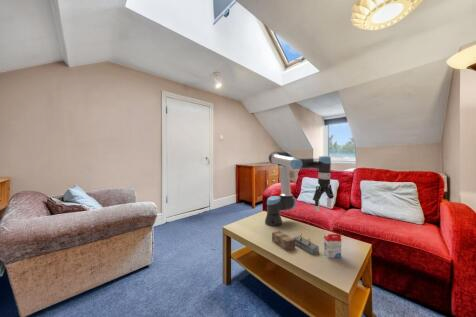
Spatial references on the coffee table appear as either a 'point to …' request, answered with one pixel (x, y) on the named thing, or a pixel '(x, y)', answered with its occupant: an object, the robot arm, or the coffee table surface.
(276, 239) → the wooden block
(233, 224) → the coffee table surface
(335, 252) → the ink box
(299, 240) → the rail
